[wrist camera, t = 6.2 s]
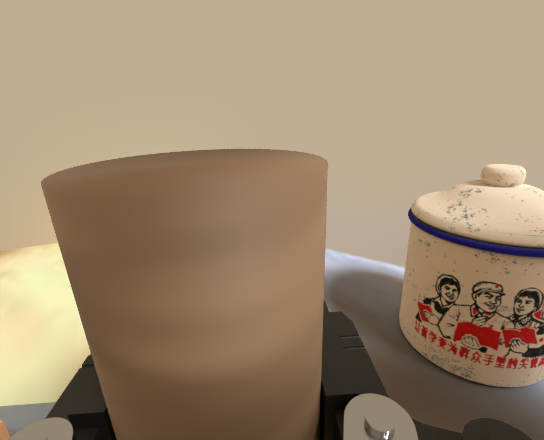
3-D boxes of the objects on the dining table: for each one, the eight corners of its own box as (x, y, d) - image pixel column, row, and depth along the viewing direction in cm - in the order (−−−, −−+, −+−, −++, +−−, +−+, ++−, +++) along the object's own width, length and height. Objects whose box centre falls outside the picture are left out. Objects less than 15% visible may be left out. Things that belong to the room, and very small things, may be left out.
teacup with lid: (392, 367, 18) (416, 178, 14) (396, 289, 26) (412, 154, 22) (672, 441, 14) (818, 196, 10) (575, 320, 22) (635, 157, 18)
